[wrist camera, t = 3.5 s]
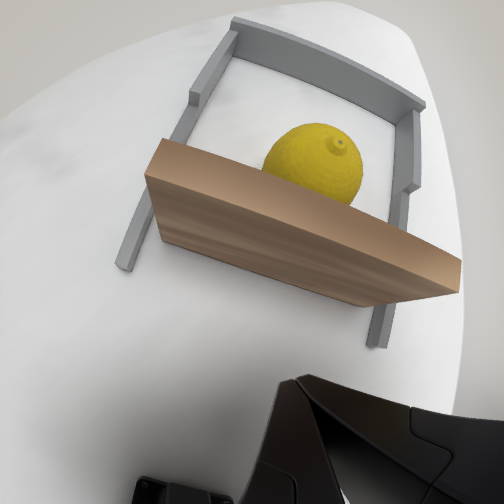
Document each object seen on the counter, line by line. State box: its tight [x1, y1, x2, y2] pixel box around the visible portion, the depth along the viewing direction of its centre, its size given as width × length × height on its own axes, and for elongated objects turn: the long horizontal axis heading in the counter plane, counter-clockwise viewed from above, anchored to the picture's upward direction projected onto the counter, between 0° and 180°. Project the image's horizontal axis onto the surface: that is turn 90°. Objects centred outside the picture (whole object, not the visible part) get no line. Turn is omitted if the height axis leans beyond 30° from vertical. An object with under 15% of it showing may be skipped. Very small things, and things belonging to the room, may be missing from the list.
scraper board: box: [144, 138, 461, 307], centre depth 15 cm, size 2×14×9 cm, turn 73°
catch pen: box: [114, 16, 426, 349], centre depth 20 cm, size 21×18×4 cm
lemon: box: [262, 123, 363, 206], centre depth 18 cm, size 6×6×8 cm
